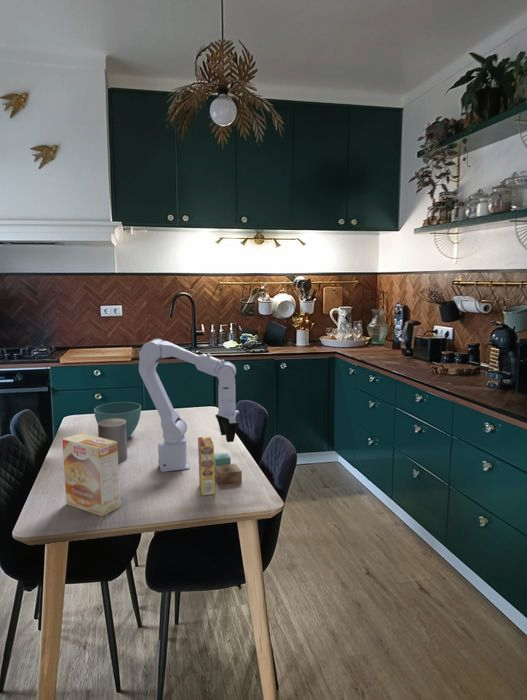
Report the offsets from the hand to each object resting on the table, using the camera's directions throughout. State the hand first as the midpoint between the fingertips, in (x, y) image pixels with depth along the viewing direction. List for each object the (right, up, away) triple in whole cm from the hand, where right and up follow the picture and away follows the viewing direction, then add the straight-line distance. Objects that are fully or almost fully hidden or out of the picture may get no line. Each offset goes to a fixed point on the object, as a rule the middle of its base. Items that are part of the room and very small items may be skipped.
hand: (227, 438), depth 173 cm
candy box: (-5, -13, -16) cm, 21 cm away
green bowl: (-46, -6, +35) cm, 58 cm away
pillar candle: (-41, -9, +9) cm, 43 cm away
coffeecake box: (-36, -15, -27) cm, 48 cm away
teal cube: (-2, -11, -1) cm, 11 cm away
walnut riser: (+1, -12, -9) cm, 15 cm away
